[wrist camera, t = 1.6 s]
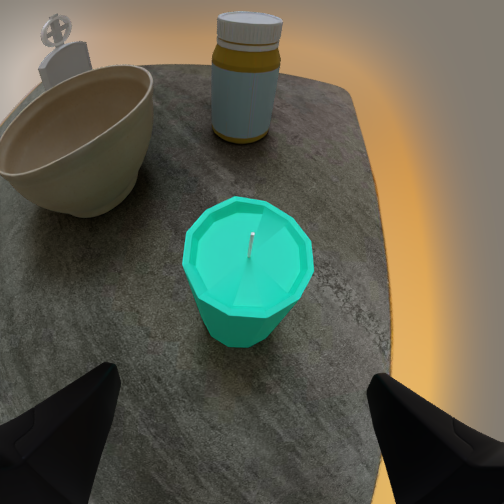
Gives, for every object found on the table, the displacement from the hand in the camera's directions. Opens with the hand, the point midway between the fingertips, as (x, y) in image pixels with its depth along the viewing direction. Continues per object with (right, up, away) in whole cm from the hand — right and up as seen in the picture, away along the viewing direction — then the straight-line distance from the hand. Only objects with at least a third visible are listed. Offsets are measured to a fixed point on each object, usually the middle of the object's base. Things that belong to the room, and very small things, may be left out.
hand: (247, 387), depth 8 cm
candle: (-1, 0, +14) cm, 14 cm away
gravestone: (-33, +33, +28) cm, 54 cm away
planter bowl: (-17, +12, +18) cm, 27 cm away
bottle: (-1, +20, +24) cm, 31 cm away
